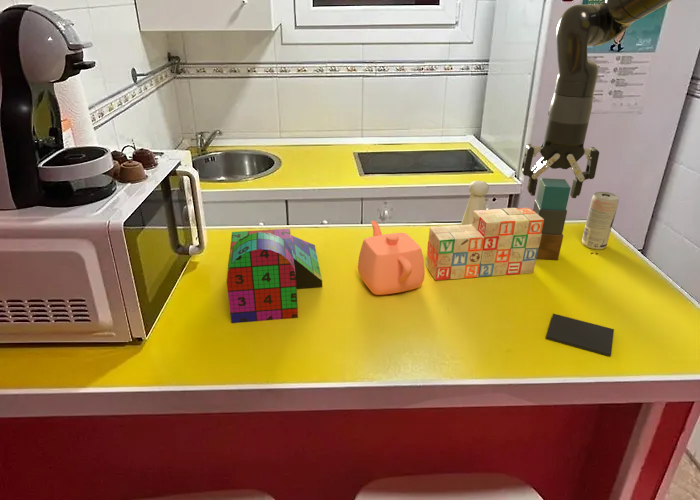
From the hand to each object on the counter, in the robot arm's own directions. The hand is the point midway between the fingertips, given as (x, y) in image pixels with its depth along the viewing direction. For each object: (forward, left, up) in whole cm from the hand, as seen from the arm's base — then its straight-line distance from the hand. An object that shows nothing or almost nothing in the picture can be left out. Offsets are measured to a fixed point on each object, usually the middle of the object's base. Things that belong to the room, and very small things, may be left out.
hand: (552, 195), depth 109 cm
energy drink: (-10, -10, -14) cm, 20 cm away
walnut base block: (0, 0, -14) cm, 14 cm away
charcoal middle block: (0, 0, -8) cm, 8 cm away
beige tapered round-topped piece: (+16, -2, -14) cm, 21 cm away
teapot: (+25, +27, -14) cm, 39 cm away
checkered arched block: (+44, +38, -14) cm, 60 cm away
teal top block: (0, 0, -2) cm, 2 cm away
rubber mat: (-11, +28, -14) cm, 33 cm away
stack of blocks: (+10, +14, -14) cm, 22 cm away
